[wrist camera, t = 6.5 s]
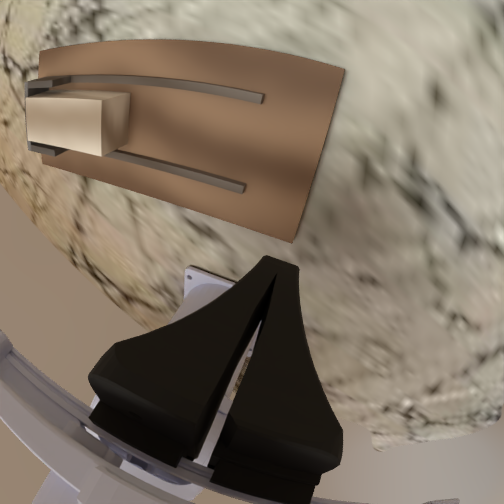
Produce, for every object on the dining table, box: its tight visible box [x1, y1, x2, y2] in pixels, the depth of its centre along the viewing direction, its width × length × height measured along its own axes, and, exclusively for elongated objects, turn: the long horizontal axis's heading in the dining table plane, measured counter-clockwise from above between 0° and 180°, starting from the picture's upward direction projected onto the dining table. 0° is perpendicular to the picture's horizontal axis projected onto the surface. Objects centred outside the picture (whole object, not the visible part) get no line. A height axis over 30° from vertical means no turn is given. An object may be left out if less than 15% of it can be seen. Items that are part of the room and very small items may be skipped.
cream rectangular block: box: [26, 90, 131, 157], centre depth 18 cm, size 4×10×3 cm, turn 78°
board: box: [25, 40, 345, 243], centre depth 18 cm, size 12×26×3 cm, turn 78°
